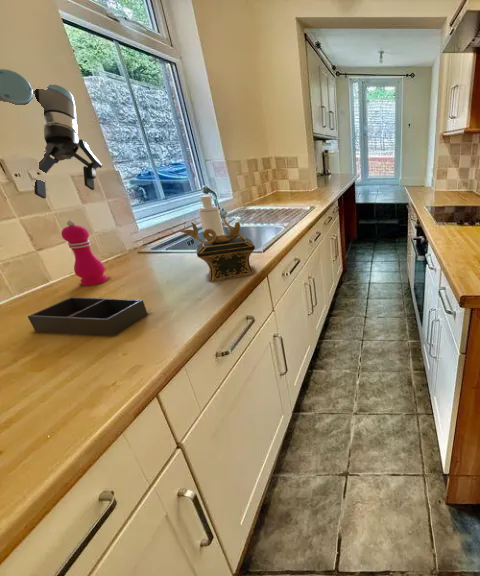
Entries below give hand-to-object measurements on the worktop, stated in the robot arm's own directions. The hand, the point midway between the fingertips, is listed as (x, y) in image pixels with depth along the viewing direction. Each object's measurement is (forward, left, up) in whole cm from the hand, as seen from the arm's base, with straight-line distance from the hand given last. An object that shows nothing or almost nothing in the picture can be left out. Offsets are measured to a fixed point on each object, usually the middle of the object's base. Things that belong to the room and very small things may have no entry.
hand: (65, 191), depth 96 cm
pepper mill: (+5, -6, -28) cm, 29 cm away
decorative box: (+44, +3, -28) cm, 52 cm away
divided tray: (+29, -30, -27) cm, 50 cm away
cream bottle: (+31, +21, -28) cm, 46 cm away
